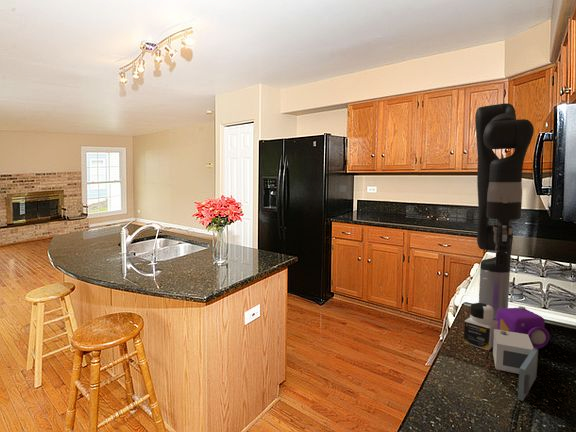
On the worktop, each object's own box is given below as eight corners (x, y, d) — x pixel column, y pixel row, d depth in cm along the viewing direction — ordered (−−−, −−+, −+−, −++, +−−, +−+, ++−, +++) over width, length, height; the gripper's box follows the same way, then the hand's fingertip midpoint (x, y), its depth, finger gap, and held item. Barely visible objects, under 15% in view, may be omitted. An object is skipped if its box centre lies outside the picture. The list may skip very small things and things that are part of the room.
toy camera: (530, 357, 95) (532, 323, 95) (489, 336, 109) (491, 306, 108) (559, 352, 98) (561, 318, 97) (516, 332, 111) (518, 302, 110)
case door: (517, 399, 77) (518, 368, 76) (531, 375, 86) (532, 347, 85) (526, 402, 75) (528, 371, 75) (539, 378, 85) (541, 350, 84)
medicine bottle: (463, 342, 105) (464, 304, 103) (472, 335, 109) (474, 299, 108) (488, 351, 99) (490, 311, 98) (497, 343, 104) (499, 305, 103)
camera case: (492, 352, 98) (494, 327, 98) (529, 359, 94) (531, 333, 94) (495, 369, 90) (497, 341, 89) (536, 377, 86) (538, 348, 85)
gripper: (485, 198, 95) (482, 260, 96) (488, 201, 83) (485, 270, 85) (517, 199, 91) (514, 262, 93) (526, 201, 80) (521, 274, 81)
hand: (500, 266), depth 89 cm, fingers closed
